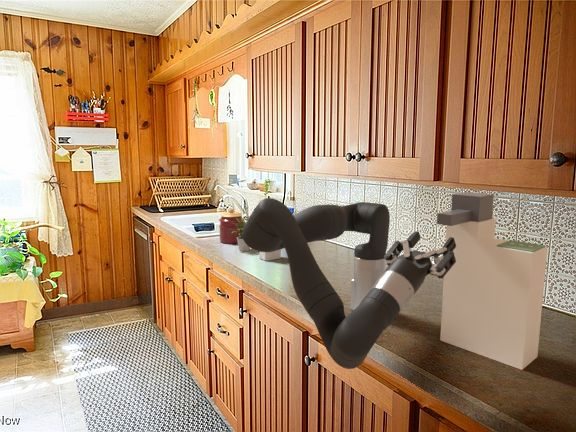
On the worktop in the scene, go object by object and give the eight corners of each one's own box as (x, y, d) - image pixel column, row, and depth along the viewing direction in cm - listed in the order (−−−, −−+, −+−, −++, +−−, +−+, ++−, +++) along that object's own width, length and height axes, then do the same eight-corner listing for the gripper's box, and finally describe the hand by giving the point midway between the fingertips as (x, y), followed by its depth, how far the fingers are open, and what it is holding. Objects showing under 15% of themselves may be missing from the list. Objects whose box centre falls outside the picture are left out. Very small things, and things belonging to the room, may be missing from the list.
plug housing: (430, 223, 101) (431, 197, 100) (464, 215, 112) (466, 192, 111) (458, 227, 96) (460, 200, 95) (491, 218, 107) (493, 194, 106)
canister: (235, 237, 239) (235, 205, 236) (249, 241, 229) (248, 208, 226) (215, 241, 231) (214, 208, 228) (228, 245, 221) (227, 211, 218)
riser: (440, 340, 112) (446, 218, 107) (457, 330, 118) (464, 214, 113) (521, 369, 98) (534, 230, 92) (537, 357, 103) (549, 224, 98)
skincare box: (265, 261, 190) (264, 227, 188) (258, 258, 195) (258, 225, 193) (281, 258, 194) (281, 226, 192) (275, 255, 199) (274, 223, 197)
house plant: (221, 249, 212) (220, 216, 209) (244, 245, 221) (243, 213, 218) (239, 254, 201) (238, 220, 199) (262, 249, 210) (261, 216, 208)
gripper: (423, 280, 82) (462, 228, 90) (363, 265, 93) (403, 219, 100) (432, 308, 86) (469, 255, 93) (374, 290, 96) (411, 244, 104)
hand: (435, 237), depth 97 cm, fingers open, 8 cm apart
